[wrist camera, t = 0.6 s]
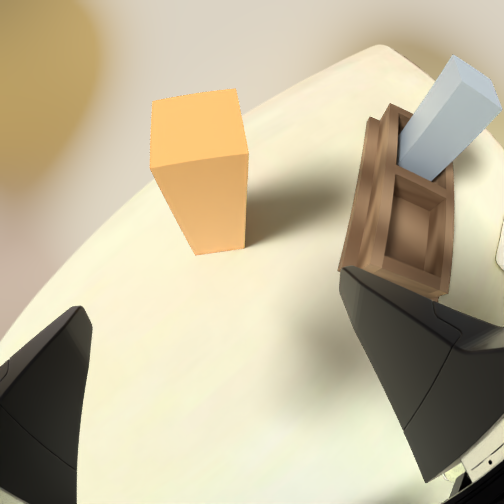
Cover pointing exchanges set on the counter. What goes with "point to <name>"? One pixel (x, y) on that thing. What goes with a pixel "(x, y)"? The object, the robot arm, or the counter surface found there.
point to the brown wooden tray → (400, 215)
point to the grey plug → (447, 119)
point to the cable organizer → (501, 250)
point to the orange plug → (202, 167)
